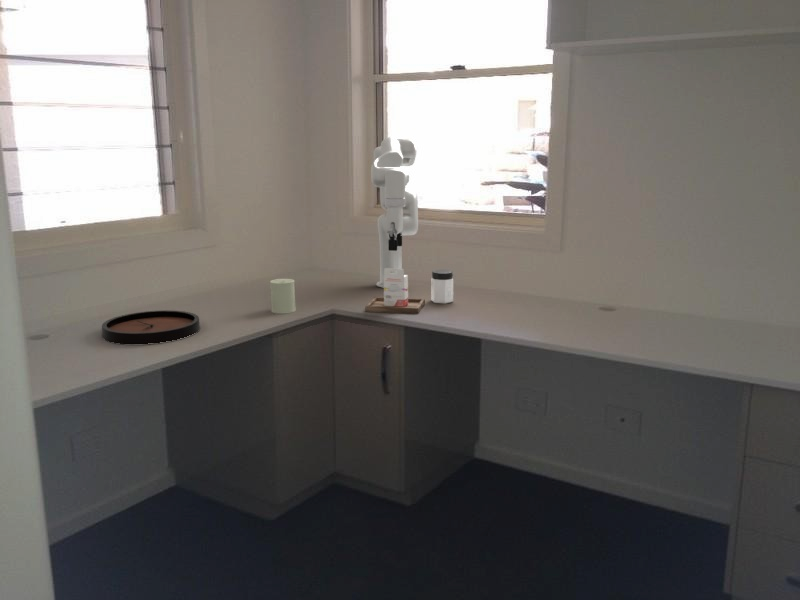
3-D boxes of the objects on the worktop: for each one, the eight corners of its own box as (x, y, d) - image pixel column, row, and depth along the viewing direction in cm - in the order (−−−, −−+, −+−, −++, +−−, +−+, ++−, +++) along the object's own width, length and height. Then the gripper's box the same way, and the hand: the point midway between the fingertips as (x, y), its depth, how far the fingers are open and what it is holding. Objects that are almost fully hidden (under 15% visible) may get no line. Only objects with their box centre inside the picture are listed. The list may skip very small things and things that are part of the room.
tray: (375, 301, 290) (374, 297, 290) (424, 303, 286) (424, 298, 286) (365, 311, 275) (365, 306, 274) (418, 313, 271) (418, 308, 271)
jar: (441, 304, 285) (442, 274, 282) (426, 301, 291) (427, 271, 288) (457, 301, 291) (457, 271, 288) (442, 297, 297) (442, 268, 294)
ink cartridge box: (408, 304, 282) (408, 267, 279) (404, 307, 277) (404, 269, 274) (387, 303, 285) (387, 265, 281) (383, 305, 280) (383, 268, 277)
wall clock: (203, 327, 239) (100, 337, 228) (204, 339, 239) (101, 350, 229) (194, 307, 267) (102, 314, 256) (195, 317, 268) (103, 326, 257)
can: (273, 314, 271) (271, 282, 268) (269, 309, 279) (267, 278, 277) (297, 312, 274) (296, 281, 271) (293, 307, 282) (292, 276, 280)
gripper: (389, 200, 281) (390, 244, 285) (380, 205, 264) (380, 252, 268) (409, 200, 279) (409, 244, 283) (400, 205, 263) (400, 252, 267)
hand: (395, 248), depth 276 cm, fingers open, 9 cm apart
